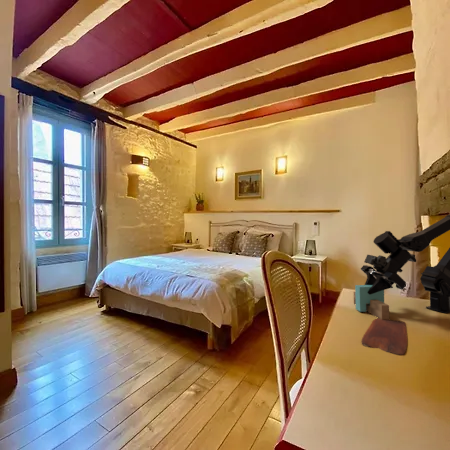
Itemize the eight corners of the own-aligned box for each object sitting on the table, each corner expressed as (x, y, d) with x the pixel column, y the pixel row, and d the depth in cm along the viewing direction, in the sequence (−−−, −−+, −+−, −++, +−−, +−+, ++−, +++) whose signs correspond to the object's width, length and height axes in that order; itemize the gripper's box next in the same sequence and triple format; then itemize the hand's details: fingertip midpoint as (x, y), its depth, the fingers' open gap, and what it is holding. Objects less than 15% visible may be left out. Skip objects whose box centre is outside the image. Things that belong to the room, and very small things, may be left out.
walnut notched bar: (353, 303, 102) (353, 291, 102) (359, 303, 102) (359, 291, 102) (381, 320, 84) (381, 305, 84) (389, 320, 84) (389, 305, 84)
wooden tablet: (405, 359, 61) (405, 352, 61) (359, 347, 67) (359, 341, 67) (409, 324, 82) (409, 319, 82) (374, 318, 88) (374, 313, 88)
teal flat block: (379, 308, 95) (378, 284, 95) (384, 311, 92) (383, 286, 92) (355, 309, 95) (355, 285, 95) (360, 311, 92) (359, 287, 92)
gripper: (364, 245, 103) (338, 272, 103) (396, 249, 84) (364, 283, 84) (384, 264, 103) (358, 291, 103) (420, 272, 84) (388, 306, 84)
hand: (365, 292), depth 93 cm, fingers closed on teal flat block, 3 cm apart
